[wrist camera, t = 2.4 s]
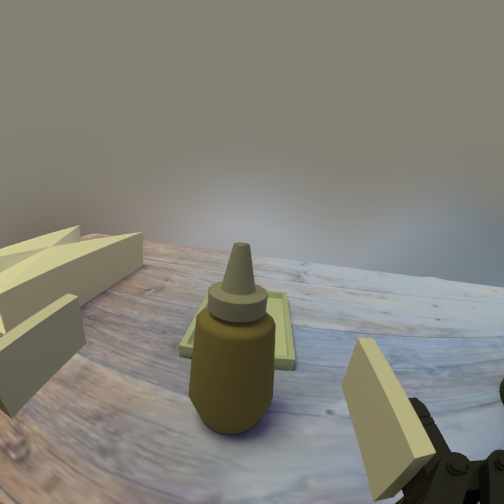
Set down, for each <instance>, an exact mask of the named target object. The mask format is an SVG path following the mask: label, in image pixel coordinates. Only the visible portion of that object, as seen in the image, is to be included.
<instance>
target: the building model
mask: <svg viewBox="0 0 504 504" xmlns="http://www.w3.org/2000/svg"><path fill="white" fill-rule="evenodd" d="M142 266H143V232H138V233H132V234H126V235H118V236H112V237H106V238H100V239H94V240H88V241H82V242H80V225H79V226H75V227H71V228H67V229H64V230H60V231H57V232H53V233H50V234H46V235H43V236H40V237H37V238H33V239H30V240H27V241H23V242H20V243H17V244H15V245H11V246H8V247H5V248H2V249H0V337H1V336H2V335H3V334H5V333H6V332H9V331H10V330H12V329H13V328H15V327H16V326H18V325H19V324H21V323H22V322H24V321H25V320H27V319H28V318H30V317H31V316H33V315H34V314H36V313H37V312H39V311H41V310H42V309H44V308H45V307H47V306H48V305H50V304H52V303H53V302H55V301H56V300H58V299H60V298H61V297H63V296H64V295H66V294H72V295H76V296H79V303H80V307H81V306H82V305H84V304H85V303H87V302H88V301H90V300H91V299H93V298H94V297H96V296H97V295H99V294H100V293H102V292H103V291H105V290H106V289H108V288H109V287H111V286H112V285H114V284H115V283H117V282H118V281H120V280H122V279H123V278H125V277H126V276H128V275H129V274H131V273H132V272H134V271H136V270H137V269H139V268H140V267H142Z"/></svg>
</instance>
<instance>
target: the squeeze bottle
mask: <svg viewBox="0 0 504 504" xmlns="http://www.w3.org/2000/svg"><path fill="white" fill-rule="evenodd" d="M267 299H268V294H267V292H266V290H265V289H264V288H262V287H261V286H259V285H256V284H255V283H254V275H253V267H252V259H251V251H250V245H249V244H247V243H235V244H234V246H233V249H232V252H231V255H230V259H229V262H228V265H227V269H226V272H225V276H224V279H223V281H221V282H218V283H215V284H213V285H212V286H210V287H209V288H208V306H207V307H206V308H204V309H203V310H202V311H201V312H200V313H199V314H198V315H197V317H196V325H195V334H194V343H193V352H192V362H191V373H190V384H189V397H190V399H191V401H192V403H193V405H194V406H195V408H196V410H197V411H198V413H199V415H200V416H201V418H202V420H203V421H204V423H205V425H206V426H208V427H209V428H211V429H212V430H214V431H216V432H219V433H223V434H239V433H242V432H245V431H248V430H249V429H250V428H251V427H252V426H254V425H255V424H256V422H257V421H258V420H259V419H260V418H261V416H262V415H263V414H264V413H265V411H266V410H267V409H268V408H269V406H270V403H271V400H272V397H273V381H274V359H275V333H276V324H275V322H274V320H273V317H272V316H270V315H269V314H268V313H267V312H266V307H267Z"/></svg>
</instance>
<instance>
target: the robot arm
mask: <svg viewBox="0 0 504 504" xmlns="http://www.w3.org/2000/svg"><path fill="white" fill-rule="evenodd" d="M85 344H86V338H85V333H84V328H83V322H82V316H81V310H80V303H79V296H76V295H72V294H66V295H64V296H63V297H61V298H60V299H58V300H56V301H55V302H53V303H52V304H50V305H48V306H47V307H45V308H44V309H42V310H41V311H39V312H37V313H36V314H34V315H33V316H31V317H30V318H28V319H27V320H25V321H24V322H22V323H21V324H19V325H18V326H16V327H15V328H13V329H12V330H10V331H9V332H6V333H5V334H3V335H2V336H1V337H0V409H1V410H2V411H3V412H4V413H5V414H7V415H8V416H9V417H10V418H13V417H14V416H15V415H16V414H17V413H18V411H19V410H20V409H21V408H22V407H23V406H24V405H25V404H26V403H27V402H28V401H29V400H30V399H31V398H32V397H33V396H34V395H35V394H36V393H37V392H38V390H39V389H40V388H41V387H42V386H43V385H44V384H45V383H46V382H47V381H48V380H49V379H50V378H51V377H52V376H53V375H54V374H55V373H56V372H57V371H58V370H59V369H60V368H61V367H62V366H63V365H64V364H65V363H66V362H67V361H68V360H70V359H71V358H72V357H73V356H74V355H75V354H76V353H77V352H78V351H79V350H80V349H81V348H82V347H83V346H84V345H85ZM341 386H342V389H343V392H344V396H345V399H346V402H347V405H348V409H349V412H350V415H351V419H352V422H353V426H354V429H355V433H356V436H357V440H358V443H359V447H360V451H361V454H362V458H363V462H364V466H365V470H366V473H367V477H368V481H369V485H370V489H371V494H372V498H373V501H378V500H383V499H387V498H392V497H394V496H395V495H396V494H397V493H398V492H399V491H400V490H402V491H403V494H404V496H403V497H402V498H401V499H400V500H399V501H398V502H396V503H395V504H478V502H479V501H480V504H504V450H495V451H494V452H492V453H491V454H490V455H489V456H488V457H487V459H486V460H480V461H469V459H468V458H467V457H466V456H464V455H463V454H461V453H456V452H451V451H450V449H449V447H448V445H447V444H446V442H445V440H444V438H443V436H442V434H441V433H440V431H439V429H438V427H437V425H436V424H434V423H435V422H434V420H433V418H432V417H430V413H429V411H428V410H427V408H426V406H425V405H424V404H423V403H422V402H421V401H419V400H418V399H417V398H408V397H407V396H406V394H405V392H404V390H403V389H402V387H401V385H400V383H399V381H398V380H397V378H396V376H395V374H394V373H393V371H392V369H391V368H390V366H389V364H388V362H387V361H386V359H385V357H384V356H383V354H382V352H381V351H380V349H379V347H378V346H377V344H376V342H375V341H374V339H373V338H357V341H356V344H355V348H354V351H353V354H352V357H351V360H350V363H349V366H348V368H347V371H346V374H345V377H344V379H343V382H342V385H341ZM500 394H501V398H502V400H503V403H504V378H503V380H502V382H501V385H500Z"/></svg>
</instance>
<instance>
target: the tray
mask: <svg viewBox="0 0 504 504" xmlns="http://www.w3.org/2000/svg"><path fill="white" fill-rule="evenodd" d="M266 292H267V294H268V299H267V307H266V312H267V313H268V314H269V315H270V316H272V317H273V320H274V322H275V324H276V333H275V359H274V369H280V370H293V368H294V364H295V353H294V345H293V337H292V329H291V321H290V314H289V307H288V299H287V292H277V291H267V290H266ZM207 306H208V294H207V296H206V298H205V299H204V301H203V303H202V305H201V307H200V308H199V310H198V312H197V314H196V316H195V317H194V319H193V321H192V323H191V325H190V327H189V328H188V330H187V332H186V334H185V336H184V338H183V339H182V341H181V343H180V345H179V352H180V356H181V357H186V358H192V352H193V343H194V334H195V325H196V317H197V315H198V314H199V313H200V312H201V311H202V310H203V309H204V308H206V307H207Z"/></svg>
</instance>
